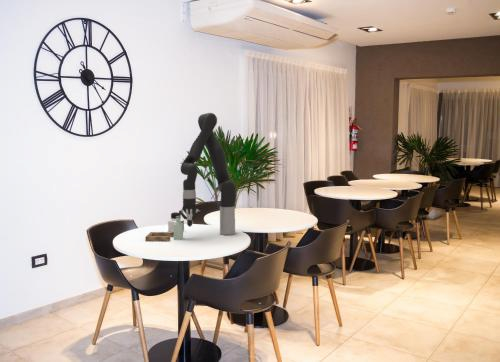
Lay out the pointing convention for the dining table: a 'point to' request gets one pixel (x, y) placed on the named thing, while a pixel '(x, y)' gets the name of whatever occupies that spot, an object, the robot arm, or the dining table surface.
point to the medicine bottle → (172, 222)
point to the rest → (159, 236)
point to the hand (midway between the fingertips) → (189, 226)
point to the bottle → (178, 229)
